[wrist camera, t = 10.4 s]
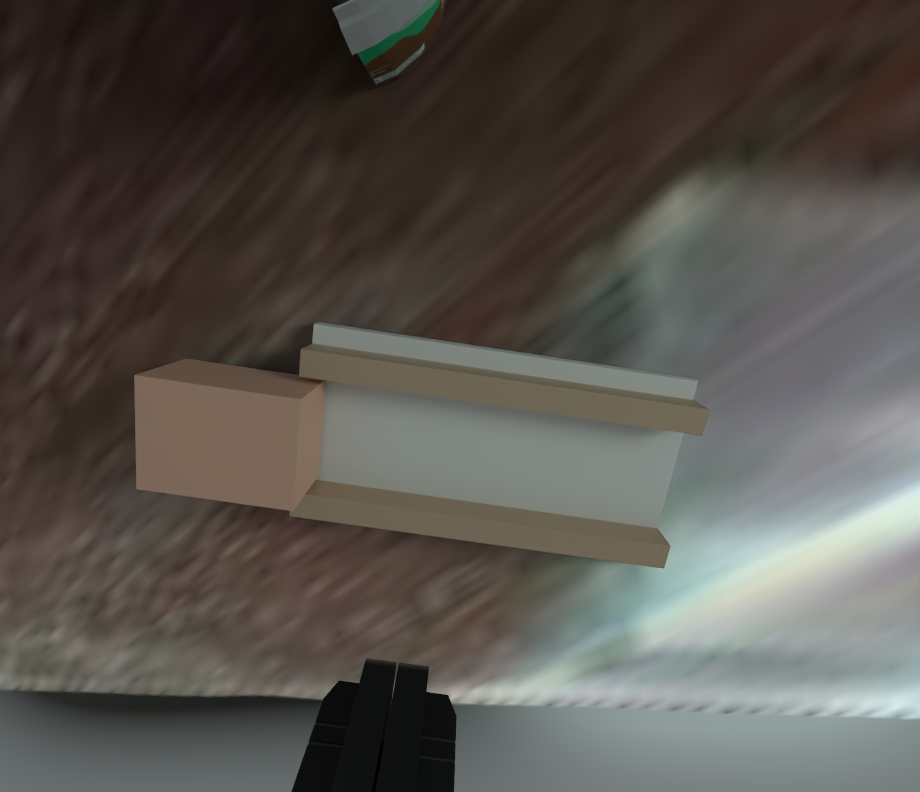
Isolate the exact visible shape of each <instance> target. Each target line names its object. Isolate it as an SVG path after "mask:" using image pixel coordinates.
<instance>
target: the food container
mask: <svg viewBox="0 0 920 792" xmlns="http://www.w3.org/2000/svg"><path fill="white" fill-rule="evenodd" d="M337 1H338V6H336V7H334V8H332V9H333V12H334V14H335V16H336V18H337V20H338V22H339V25H340V29H341V31H342V33H343V36H344V38H345V40H346V42H347V44H348V47H349V49H350V51H351V53H352V55H354V54H356V53H357V54H358V55H359V57H360V59H361V61H362V62H363V64H364V66H365V67H366V69H367V71H368V72H369V74H370V76H371V78H372V79H373V81H374V83H375V84H376V86H377V88H379V87H381V86H383V85H386V84H388V83H390V82H393V81H395V80H397V79H399V78H400V77H401V76H402V75H404V74H405V73H406V72H407V71H408V70H409V69H411V68H412V67H413V66H414V65H415V64H416V63H418V62H419V61H420V60H421V59H422V58H423V56H424V55H425V53H426V51H427V50H428V48H429V46H430V45H431V43H432V42H433V40H434V38H435V37H436V35H437V33H438V32H439V29H440V25H441V22H442V18H443V14H444V10H445V7H446V3H447V0H337Z"/></svg>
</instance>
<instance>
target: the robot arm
mask: <svg viewBox="0 0 920 792" xmlns="http://www.w3.org/2000/svg"><path fill="white" fill-rule="evenodd" d="M428 671H429V667H427V666H420V665H412V664H405V663H399V666H398V671H397V676H396V682H395V687H394V680H395V672H396V662H389V661H381V660H374V659H366V661H365V664H364V668H363V672H362V676H361V679H360V683H352V682H345V681H338V683H337V684H336V685H335V686H334V687H333V688H332V689H331V691H330V692H329V693H328V694H327V695H326V696H325V698H324V699H323V702H322V705H321V707H320V710H319V713H318V716H317V719H316V723H315V726H314V728H313V731H312V734H311V737H310V740H309V744H308V745H307V748H306V751H305V754H304V757H303V760H302V763H301V766H300V769H299V772H298V774H297V778H296V780H295V783H294V786H293V789H292V792H454V773H455V764H454V763H455V740H456V714H455V712H454V709H453V706H452V704H451V701H450V699H449V696H448V695H444V694H436V693H429V692H426V690H427V681H428ZM393 687H394V693H393ZM392 695H393V698H392ZM391 702H392V704H391Z"/></svg>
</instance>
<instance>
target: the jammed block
mask: <svg viewBox="0 0 920 792" xmlns="http://www.w3.org/2000/svg"><path fill="white" fill-rule="evenodd" d="M134 384H135V438H136V489H139V490H146V491H153V492H160V493H167V494H174V495H181V496H189V497H196V498H203V499H210V500H217V501H224V502H231V503H238V504H245V505H253V506H260V507H267V508H274V509H281V510H288V511H294V509H295V508H296V506H297V505H298V504H299V502H300V501H301V499H302V498H303V497H304V495H305V494H306V493H307V491H308V490H309V488H310V487H311V486H312V484H313V483H314V481H315V480H316V479H317V477H318V476H319V465H320V453H321V441H322V429H323V417H324V404H325V392H326V380H319V379H313V378H306V377H299V375H295V374H288V373H281V372H274V371H267V370H261V369H254V368H247V367H240V366H233V365H227V364H220V363H213V362H206V361H199V360H193V359H183V360H180V361H177V362H174V363H171V364H168V365H164V366H161V367H158V368H155V369H152V370H149V371H146V372H143V373H139V374H136V375H134Z"/></svg>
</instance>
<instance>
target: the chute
mask: <svg viewBox="0 0 920 792" xmlns="http://www.w3.org/2000/svg"><path fill="white" fill-rule="evenodd" d="M299 377H306V378H313V379H319V380H326V392H325V404H324V417H323V429H322V441H321V453H320V465H319V476H318V477H317V479H316V480H315V481H314V483H313V484H312V486H311V487H310V488H309V490H308V491H307V493H306V494H305V495H304V497H303V498H302V499H301V501H300V502H299V504H298V505H297V506H296V508H295V509H294V511H290V515H289V516H293V517H300V518H307V519H314V520H321V521H328V522H336V523H343V524H350V525H357V526H364V527H371V528H378V529H386V530H393V531H400V532H407V533H414V534H421V535H428V536H435V537H443V538H450V539H457V540H464V541H471V542H478V543H485V544H493V545H500V546H507V547H514V548H521V549H528V550H535V551H543V552H550V553H557V554H564V555H571V556H578V557H585V558H592V559H600V560H607V561H614V562H621V563H628V564H635V565H642V566H650V567H657V568H664V567H665V563H666V560H667V556H668V553H669V549H670V545H669V543H668V542H667V541H666V539H665V538H664V537H663V535H662V534H661V532H660V531H659V530H658V525H659V521H660V517H661V514H662V510H663V507H664V503H665V499H666V496H667V492H668V489H669V485H670V481H671V478H672V474H673V471H674V467H675V463H676V460H677V456H678V453H679V449H680V445H681V442H682V438H683V435H684V433H687V434H693V435H700V436H702V434H703V431H704V428H705V424H706V421H707V417H708V414H709V410H710V409H708V408H706V407H704V406H703V405H701V404H699V403H697V402H696V401H694V400H693V398H694V395H695V391H696V388H697V384H698V381H696V380H694V379H692V378H689V377H682V376H675V375H669V374H662V373H655V372H649V371H642V370H635V369H629V368H622V367H615V366H609V365H602V364H595V363H589V362H582V361H575V360H569V359H562V358H555V357H549V356H542V355H535V354H529V353H522V352H515V351H509V350H502V349H495V348H489V347H482V346H475V345H469V344H462V343H455V342H449V341H442V340H435V339H428V338H422V337H415V336H408V335H402V334H395V333H388V332H382V331H375V330H368V329H362V328H355V327H348V326H342V325H335V324H328V323H322V322H318V323H315V324H314V327H313V341H312V344H310V345H308V346H306V347H304V348H302V349H301V353H300V368H299Z"/></svg>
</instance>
